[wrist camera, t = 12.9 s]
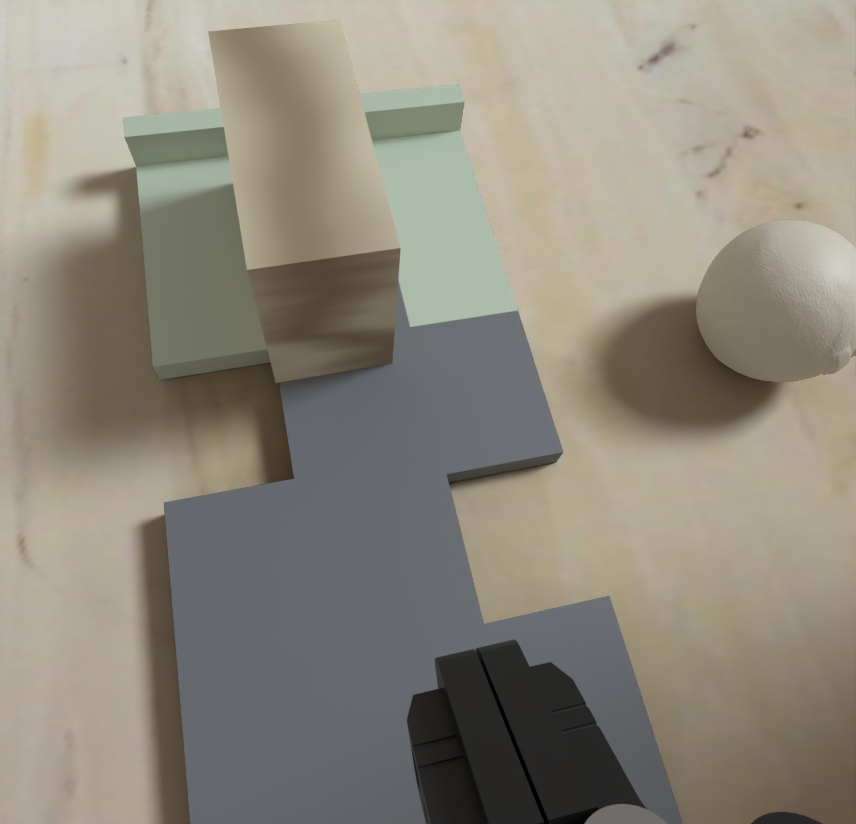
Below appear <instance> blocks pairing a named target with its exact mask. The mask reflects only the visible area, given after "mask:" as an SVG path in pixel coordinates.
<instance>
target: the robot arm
mask: <svg viewBox="0 0 856 824" xmlns="http://www.w3.org/2000/svg"><path fill="white" fill-rule="evenodd" d="M435 669H436V677H437V684H438V689H435V690H431V691H427V692H423V693H418V694H414V695H413V697H412V701H411V705H410V709H409V713H408V717H407V725H408V731H409V738H410V744H411V750H412V757H413V763H414V769H415V776H416V782H417V787H418V791H419V796H420V800H421V805H422V809H423V813H424V818H425V822H426V824H667V823H666V822H665V821H664V820H663V819H662V818H660V817H659V816H658V815H656V814H655V813H653V812H651V811H649V810H648V809H647V808H646V807H645V806H644V805H643V803H642V802H641V800H640V799H639V797H638V795H637V794H636V792H635V790H634V788H633V786H632V785H631V783H630V781H629V779H628V777H627V776H626V774H625V772H624V770H623V768H622V767H621V765H620V763H619V761H618V759H617V758H616V756H615V754H614V752H613V750H612V749H611V747H610V745H609V743H608V742H607V740H606V738H605V736H604V734H603V733H602V731H601V729H600V727H599V726H597V723H596V720H595V718H594V716H593V715H592V713H591V711H590V709H589V707H587V706H586V702H585V700H584V698H583V697H582V695H581V693H580V691H579V689H578V688H577V686H576V684H575V682H574V681H573V679H572V678H571V677H569V676H568V675H567V674H565V673H564V672H563V671H562V670H560V669H559V668H558V667H557V666H555V665H554V664H553V663H552V662H548V663H544V664H539V665H535V666H531V667H530V666H529V664H528V662H527V660H526V658H525V656H524V654H523V652H522V650H521V648H520V646H519V644H518V642H517V641H516V640H515V639H514V640H509V641H505V642H501V643H496V644H492V645H488V646H483V647H479V648H476V651H475V650H474V649H471V650H467V651H463V652H458V653H454V654H450V655H445V656H441V657H437V658H435ZM752 824H822V823H820V822H818V821H816V820H813V819H811V818H808V817H806V816H803V815H799V814H796V813H789V812H775V813H769V814H766V815H763V816H761V817H759V818H757V819H756V820H755V821H754V822H753V823H752Z"/></svg>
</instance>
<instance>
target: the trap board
mask: <svg viewBox="0 0 856 824" xmlns="http://www.w3.org/2000/svg"><path fill="white" fill-rule="evenodd" d="M360 97H361V101H362V105H363V109H364V112H365V116H366V120H367V124H368V127H369V131H370V135H371V139H372V142H373V146H374V150H375V154H376V157H377V161H378V165H379V169H380V172H381V176H382V180H383V184H384V187H385V191H386V195H387V199H388V202H389V206H390V210H391V214H392V217H393V221H394V225H395V229H396V232H397V236H398V240H399V244H400V247H401V250H400V264H399V278H398V292H397V307H396V321H395V335H394V349H393V363H391V364H385V365H379V366H373V367H367V368H361V369H355V370H350V371H344V372H338V373H332V374H326V375H320V376H314V377H308V378H303V379H297V380H291V381H285V382H279V387H280V393H281V400H282V406H283V412H284V418H285V425H286V431H287V437H288V444H289V450H290V456H291V462H292V469H293V475H294V479H289V480H284V481H278V482H273V483H268V484H262V485H257V486H251V487H246V488H240V489H235V490H230V491H224V492H219V493H213V494H208V495H202V496H197V497H192V498H186V499H181V500H175V501H170V502H164V512H165V524H166V536H167V548H168V560H169V573H170V585H171V597H172V609H173V621H174V633H175V646H176V658H177V670H178V682H179V694H180V706H181V718H182V731H183V743H184V755H185V767H186V779H187V791H188V804H189V816H190V824H426V822H425V818H424V813H423V809H422V805H421V800H420V796H419V791H418V787H417V782H416V776H415V769H414V763H413V757H412V750H411V744H410V738H409V731H408V725H407V717H408V713H409V709H410V705H411V701H412V697H413V695H414V694H418V693H423V692H427V691H431V690H435V689H438V684H437V677H436V669H435V658H437V657H441V656H445V655H450V654H454V653H458V652H463V651H467V650H471V649H474V650H475V651H476V648H479V647H483V646H488V645H492V644H496V643H501V642H505V641H509V640H514V639H515V640H516V641H517V642H518V644H519V646H520V648H521V650H522V652H523V654H524V656H525V658H526V660H527V662H528V664H529V666H530V667H531V666H535V665H539V664H544V663H548V662H552V663H553V664H554V665H555V666H557V667H558V668H559V669H560V670H562V671H563V672H564V673H565V674H567V675H568V676H569V677H571V678H572V679H573V681H574V682H575V684H576V686H577V688H578V689H579V691H580V693H581V695H582V697H583V698H584V700H585V702H586V706H587V707H589V709H590V711H591V713H592V715H593V716H594V718H595V720H596V723H597V726H599V727H600V729H601V731H602V733H603V734H604V736H605V738H606V740H607V742H608V743H609V745H610V747H611V749H612V750H613V752H614V754H615V756H616V758H617V759H618V761H619V763H620V765H621V767H622V768H623V770H624V772H625V774H626V776H627V777H628V779H629V781H630V783H631V785H632V786H633V788H634V790H635V792H636V794H637V795H638V797H639V799H640V800H641V802H642V803H643V805H644V806H645V807H646V808H647V809H648V810H649V811H651V812H653V813H655V814H656V815H658V816H659V817H660V818H662V819H663V820H664V821H665V822H666V823H667V824H682V821H681V818H680V815H679V812H678V809H677V806H676V802H675V799H674V796H673V793H672V790H671V787H670V784H669V781H668V778H667V774H666V771H665V768H664V765H663V762H662V759H661V756H660V753H659V749H658V746H657V743H656V740H655V737H654V734H653V731H652V728H651V724H650V721H649V718H648V715H647V712H646V709H645V706H644V703H643V700H642V696H641V693H640V690H639V687H638V684H637V681H636V678H635V675H634V671H633V668H632V665H631V662H630V659H629V656H628V653H627V650H626V646H625V643H624V640H623V637H622V634H621V631H620V628H619V625H618V621H617V618H616V615H615V612H614V609H613V606H612V603H611V600H610V597H609V596H606V597H602V598H597V599H593V600H589V601H584V602H580V603H575V604H571V605H566V606H562V607H558V608H553V609H549V610H544V611H540V612H536V613H531V614H527V615H522V616H518V617H514V618H509V619H505V620H500V621H496V622H491V623H487V624H484V623H483V619H482V615H481V611H480V607H479V603H478V598H477V594H476V590H475V586H474V582H473V578H472V574H471V570H470V566H469V562H468V558H467V554H466V550H465V546H464V542H463V538H462V534H461V530H460V526H459V522H458V518H457V514H456V510H455V506H454V502H453V498H452V494H451V490H450V486H449V483H450V482H456V481H461V480H466V479H471V478H476V477H482V476H487V475H492V474H497V473H502V472H508V471H513V470H518V469H523V468H529V467H534V466H539V465H544V464H549V463H555V462H557V460H558V459H559V457H560V456H561V455H562V453H563V450H562V447H561V444H560V440H559V437H558V434H557V431H556V428H555V425H554V422H553V419H552V416H551V412H550V409H549V406H548V403H547V400H546V397H545V394H544V391H543V387H542V384H541V381H540V378H539V375H538V372H537V369H536V366H535V362H534V359H533V356H532V353H531V350H530V347H529V344H528V341H527V338H526V334H525V331H524V328H523V325H522V322H521V319H520V316H519V313H518V309H517V306H516V303H515V300H514V297H513V294H512V291H511V288H510V284H509V281H508V278H507V275H506V272H505V269H504V266H503V263H502V259H501V256H500V253H499V250H498V247H497V244H496V241H495V238H494V235H493V231H492V228H491V225H490V222H489V219H488V216H487V213H486V210H485V206H484V203H483V200H482V197H481V194H480V191H479V188H478V185H477V181H476V178H475V175H474V172H473V169H472V166H471V163H470V160H469V157H468V153H467V150H466V147H465V144H464V141H463V138H462V135H461V132H460V127H461V121H462V114H463V108H464V99H463V96H462V93H461V90H460V87H459V84H457V85H447V86H437V87H426V88H416V89H406V90H396V91H386V92H376V93H366V94H360ZM123 124H124V137H125V140H126V142H127V145H128V147H129V150H130V152H131V155H132V157H133V160H134V162H135V164H136V171H137V183H138V196H139V208H140V220H141V232H142V244H143V256H144V269H145V281H146V293H147V305H148V317H149V329H150V342H151V354H152V366H153V368H154V370H155V372H156V374H157V375H158V377H159V379H160V380H162V379H169V378H175V377H181V376H188V375H194V374H200V373H207V372H213V371H220V370H226V369H232V368H239V367H245V366H251V365H258V364H264V363H270V359H269V355H268V351H267V347H266V343H265V339H264V335H263V331H262V327H261V323H260V319H259V315H258V311H257V307H256V304H255V300H254V296H253V292H252V288H251V284H250V280H249V276H248V272H247V267H246V261H245V255H244V249H243V242H242V236H241V230H240V224H239V218H238V211H237V205H236V199H235V193H234V187H233V180H232V174H231V168H230V162H229V156H228V149H227V143H226V137H225V131H224V125H223V118H222V112H221V108H215V109H205V110H195V111H185V112H175V113H165V114H155V115H145V116H135V117H125V118H123Z"/></svg>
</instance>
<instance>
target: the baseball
mask: <svg viewBox="0 0 856 824" xmlns="http://www.w3.org/2000/svg"><path fill="white" fill-rule="evenodd" d="M696 318H697V324H698V327H699V330H700V332H701V335H702V337H703V339H704V341H705V343H706V345H707V346H708V348H709V349H710V351H711V352H712V354H713V355H714V356H715V357H716V358H717V359H718V360H719V361H721V362H722V363H723V364H725V365H726V366H728V367H729V368H731V369H732V370H734V371H736V372H738V373H740V374H742V375H745V376H748V377H751V378H754V379H758V380H763V381H772V382H794V381H799V380H803V379H808V378H812V377H815V376H817V375H820V374H823V375H826V374H834V373H836V372H837V371H839V370H840V369H842V368H843V367H844V366H846V365H847V364H848V363H849V361H850V358H851V357H853V356H856V248H855V247H854V246H853V245H852V244H851V243H850V242H849V241H848V240H846V239H845V238H844V237H842V236H841V235H839V234H838V233H836V232H834V231H832V230H830V229H828V228H825V227H823V226H820V225H817V224H814V223H810V222H805V221H799V220H784V221H775V222H769V223H765V224H761V225H759V226H757V227H754V228H752V229H749V230H747V231H745V232H744V233H742V234H740V235H738V236H737V237H736V238H734V239H733V240H732V241H731V242H730V243H729V244H727V245H726V246H725V247H724V248H723V249H722V250H721V251H720V252H719V254H718V255H717V256H716V257H715V259H714V260H713V261H712V263H711V265H710V266H709V268H708V270H707V271H706V273H705V276H704V278H703V280H702V282H701V285H700V288H699V291H698V297H697V304H696Z"/></svg>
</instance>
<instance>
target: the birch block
mask: <svg viewBox="0 0 856 824" xmlns="http://www.w3.org/2000/svg"><path fill="white" fill-rule="evenodd" d="M209 38H210V44H211V50H212V57H213V63H214V69H215V75H216V81H217V88H218V94H219V100H220V106H221V112H222V118H223V125H224V131H225V137H226V143H227V149H228V156H229V162H230V168H231V174H232V180H233V187H234V193H235V199H236V205H237V211H238V218H239V224H240V230H241V236H242V242H243V249H244V255H245V261H246V267H247V272H248V276H249V280H250V284H251V288H252V292H253V296H254V300H255V304H256V307H257V311H258V315H259V319H260V323H261V327H262V331H263V335H264V339H265V343H266V347H267V351H268V355H269V359H270V363H271V366H272V370H273V374H274V378H275V382H276V383H279V382H285V381H291V380H297V379H303V378H308V377H314V376H320V375H326V374H332V373H338V372H344V371H350V370H355V369H361V368H367V367H373V366H379V365H385V364H391V363H393V349H394V335H395V321H396V307H397V292H398V278H399V264H400V250H401V247H400V244H399V240H398V236H397V232H396V229H395V225H394V221H393V217H392V214H391V210H390V206H389V202H388V199H387V195H386V191H385V187H384V184H383V180H382V176H381V172H380V169H379V165H378V161H377V157H376V154H375V150H374V146H373V142H372V139H371V135H370V131H369V127H368V124H367V120H366V116H365V112H364V109H363V105H362V101H361V97H360V94H359V90H358V86H357V82H356V79H355V75H354V71H353V67H352V64H351V60H350V56H349V52H348V49H347V45H346V41H345V37H344V34H343V30H342V26H341V22H340V20H333V21H322V22H311V23H300V24H288V25H277V26H266V27H255V28H243V29H232V30H221V31H209Z"/></svg>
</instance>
